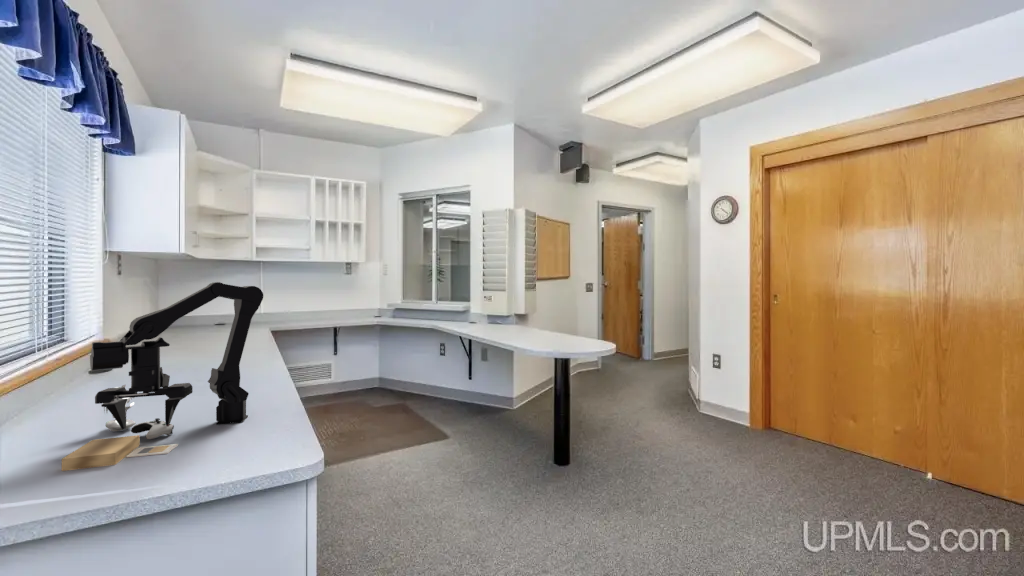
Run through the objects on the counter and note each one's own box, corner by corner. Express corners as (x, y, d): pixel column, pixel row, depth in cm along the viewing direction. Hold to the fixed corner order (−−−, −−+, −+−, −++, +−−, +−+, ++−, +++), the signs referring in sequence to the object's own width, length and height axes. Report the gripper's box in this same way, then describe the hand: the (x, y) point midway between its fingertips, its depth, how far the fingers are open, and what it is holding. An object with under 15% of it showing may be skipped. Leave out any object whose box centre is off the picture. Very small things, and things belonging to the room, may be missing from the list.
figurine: (140, 430, 121) (140, 386, 121) (110, 437, 115) (110, 390, 115) (125, 425, 125) (125, 382, 125) (95, 431, 120) (95, 387, 120)
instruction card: (178, 445, 109) (178, 443, 109) (167, 453, 103) (167, 451, 103) (138, 448, 106) (138, 447, 106) (125, 457, 101) (125, 455, 101)
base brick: (139, 447, 109) (139, 435, 109) (115, 466, 97) (115, 453, 97) (92, 452, 105) (92, 439, 106) (61, 473, 93) (61, 458, 93)
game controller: (127, 429, 114) (149, 410, 118) (142, 441, 117) (163, 423, 121) (145, 437, 110) (168, 417, 114) (160, 449, 113) (182, 430, 117)
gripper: (199, 359, 124) (200, 414, 124) (118, 363, 118) (118, 421, 118) (183, 365, 114) (184, 426, 113) (93, 369, 108) (93, 434, 108)
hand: (146, 426), depth 114 cm, fingers open, 9 cm apart
